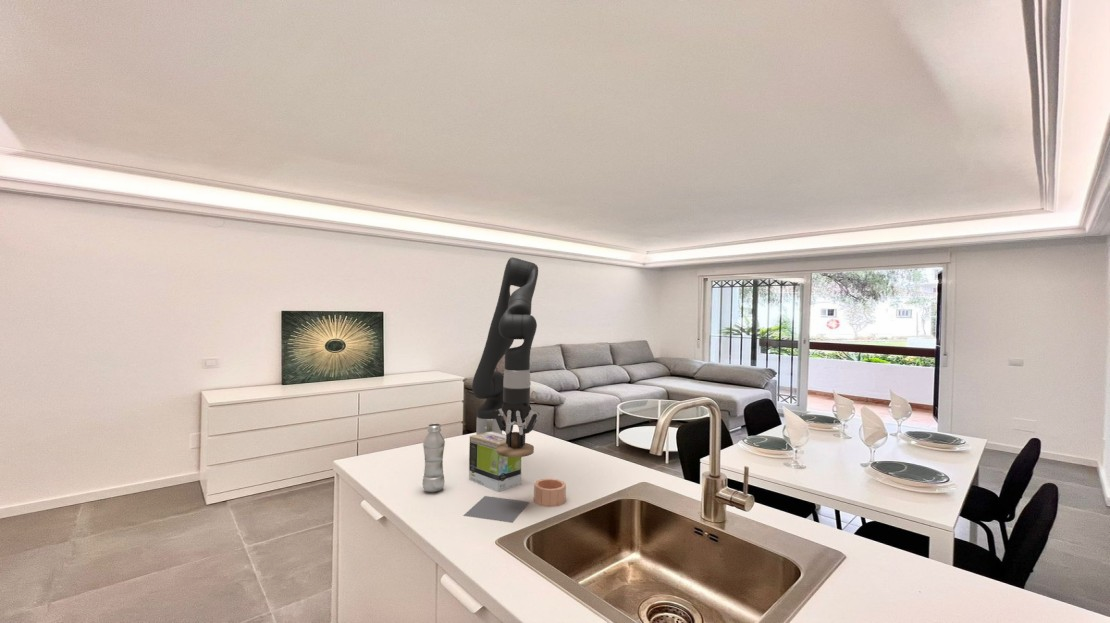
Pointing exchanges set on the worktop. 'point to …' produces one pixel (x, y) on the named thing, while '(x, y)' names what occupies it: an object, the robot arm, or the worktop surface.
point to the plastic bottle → (433, 459)
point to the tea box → (492, 463)
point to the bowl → (549, 492)
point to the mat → (497, 509)
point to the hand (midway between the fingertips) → (515, 446)
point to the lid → (515, 448)
